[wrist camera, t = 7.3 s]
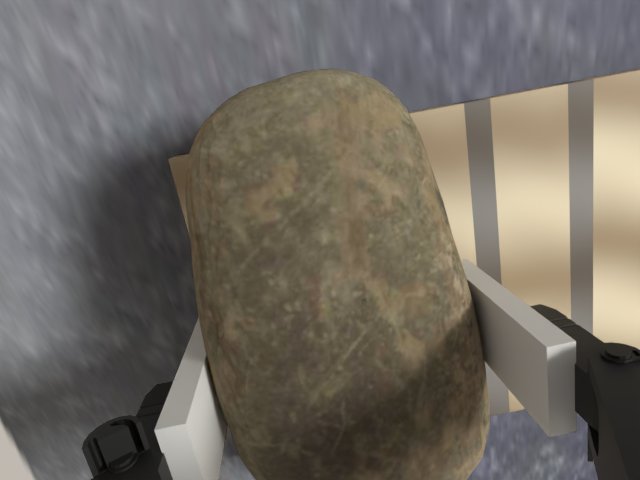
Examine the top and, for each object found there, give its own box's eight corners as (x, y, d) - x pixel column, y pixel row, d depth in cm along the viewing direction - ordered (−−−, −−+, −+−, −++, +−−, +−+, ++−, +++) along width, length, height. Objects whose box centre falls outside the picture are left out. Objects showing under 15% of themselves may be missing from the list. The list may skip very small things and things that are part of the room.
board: (175, 156, 17) (168, 159, 16) (808, 36, 18) (844, 31, 17) (254, 448, 21) (253, 467, 20) (767, 338, 22) (795, 350, 21)
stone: (287, 499, 19) (197, 689, 9) (232, 193, 22) (120, 85, 12) (489, 460, 18) (628, 618, 8) (404, 151, 21) (434, 2, 11)
